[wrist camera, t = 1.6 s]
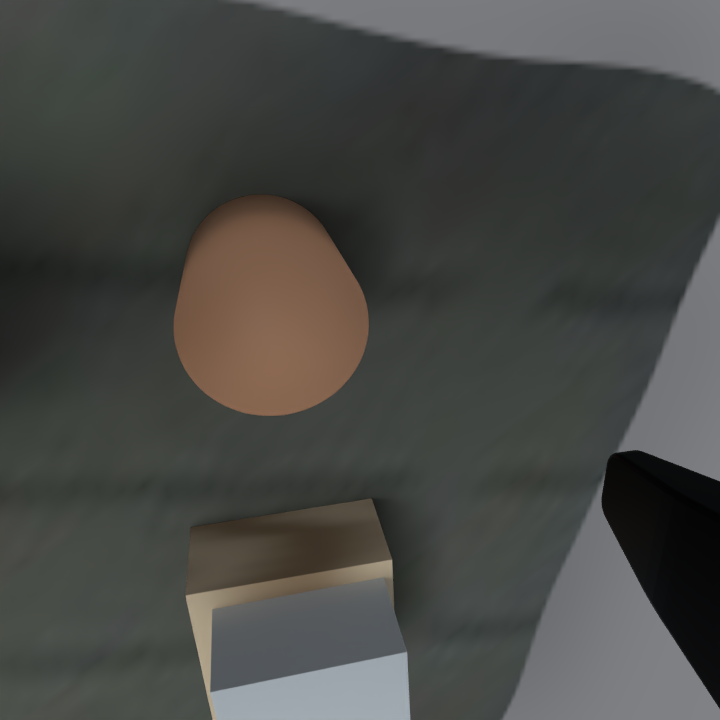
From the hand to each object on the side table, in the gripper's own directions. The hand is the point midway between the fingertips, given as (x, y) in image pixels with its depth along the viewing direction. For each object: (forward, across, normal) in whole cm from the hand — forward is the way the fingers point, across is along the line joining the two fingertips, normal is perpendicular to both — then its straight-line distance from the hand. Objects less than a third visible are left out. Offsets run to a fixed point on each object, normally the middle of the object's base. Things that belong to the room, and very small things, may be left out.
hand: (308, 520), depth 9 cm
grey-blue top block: (+9, 0, +12) cm, 15 cm away
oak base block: (+12, 0, +12) cm, 17 cm away
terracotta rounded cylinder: (+12, 0, 0) cm, 12 cm away
